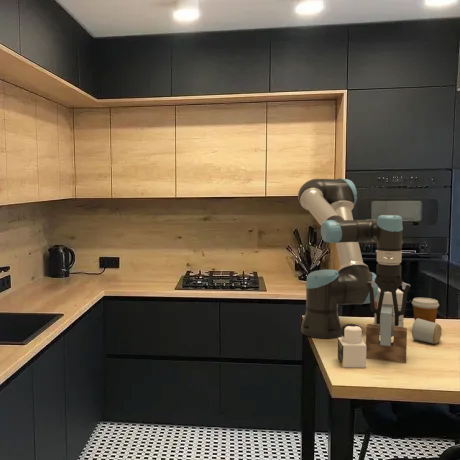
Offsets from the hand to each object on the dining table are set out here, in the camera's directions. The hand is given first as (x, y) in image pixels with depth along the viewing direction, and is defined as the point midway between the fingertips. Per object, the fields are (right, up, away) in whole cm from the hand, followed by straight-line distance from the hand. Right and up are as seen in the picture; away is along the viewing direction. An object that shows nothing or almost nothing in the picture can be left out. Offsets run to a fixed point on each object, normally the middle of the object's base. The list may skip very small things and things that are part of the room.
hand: (387, 334), depth 146 cm
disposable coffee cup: (+23, -5, +24) cm, 33 cm away
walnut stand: (-2, -7, -4) cm, 8 cm away
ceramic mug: (+19, -6, +14) cm, 24 cm away
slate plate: (-2, -1, -4) cm, 4 cm away
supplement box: (+11, -4, +29) cm, 31 cm away
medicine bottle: (-14, -7, -8) cm, 17 cm away
